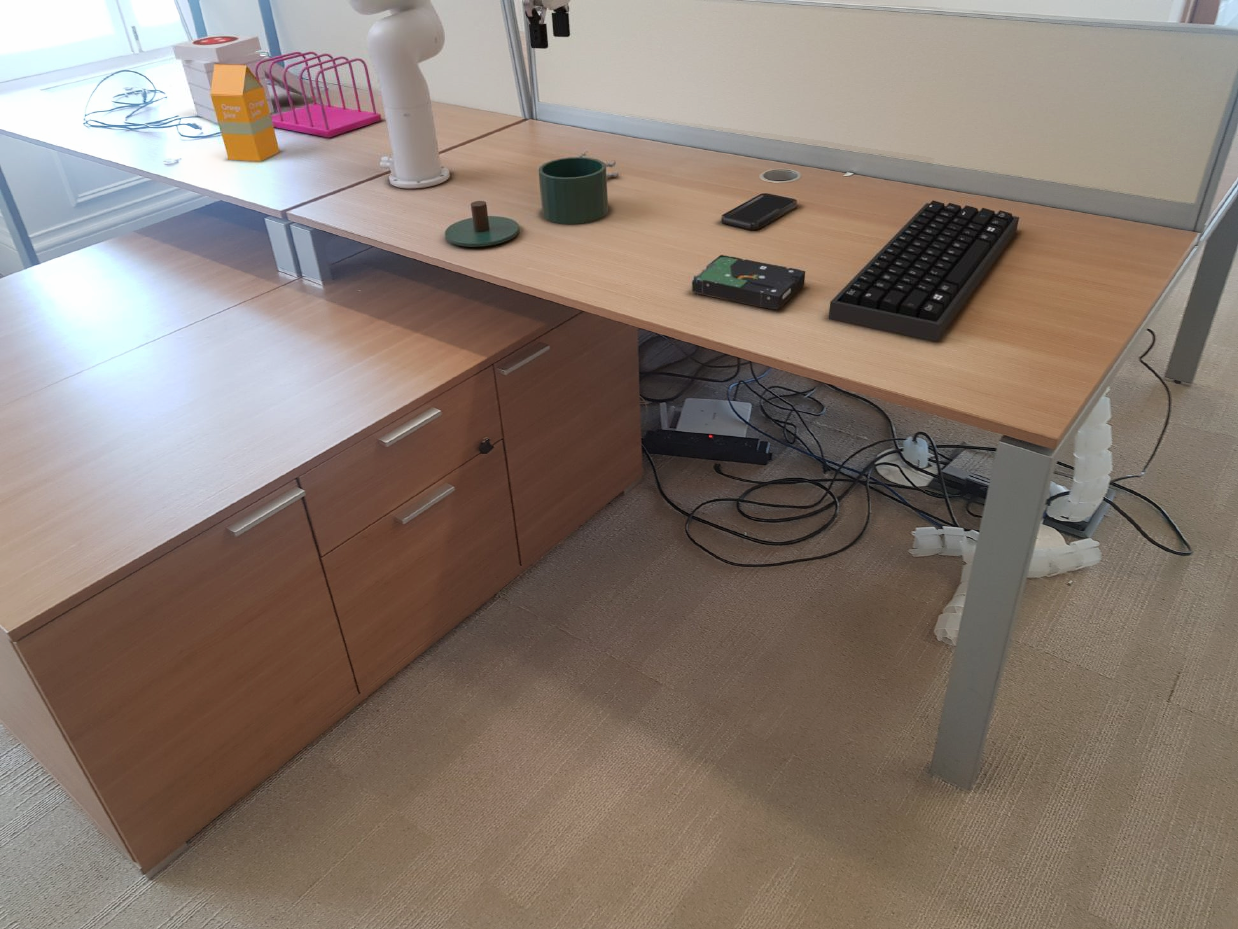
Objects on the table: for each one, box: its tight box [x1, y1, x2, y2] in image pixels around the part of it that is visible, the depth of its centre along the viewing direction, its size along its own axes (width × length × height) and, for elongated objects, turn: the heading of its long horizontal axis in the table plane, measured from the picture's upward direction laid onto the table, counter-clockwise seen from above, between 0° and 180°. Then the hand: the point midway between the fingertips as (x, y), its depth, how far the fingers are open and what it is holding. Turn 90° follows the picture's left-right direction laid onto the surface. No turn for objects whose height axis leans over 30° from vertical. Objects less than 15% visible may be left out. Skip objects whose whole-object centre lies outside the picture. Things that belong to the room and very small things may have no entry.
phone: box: [721, 192, 798, 231], centre depth 172 cm, size 8×1×15 cm
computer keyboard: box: [828, 199, 1020, 343], centre depth 148 cm, size 45×16×4 cm, turn 148°
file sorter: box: [255, 51, 382, 139], centre depth 233 cm, size 17×25×16 cm
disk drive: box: [691, 254, 806, 311], centre depth 146 cm, size 10×3×15 cm
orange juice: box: [210, 64, 280, 163], centre depth 212 cm, size 8×9×20 cm
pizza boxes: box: [171, 33, 316, 125], centre depth 248 cm, size 19×30×18 cm, turn 133°
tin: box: [538, 156, 609, 225], centre depth 175 cm, size 12×12×8 cm
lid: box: [444, 200, 520, 248], centre depth 169 cm, size 13×13×6 cm
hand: (551, 42), depth 170 cm, fingers open, 9 cm apart
